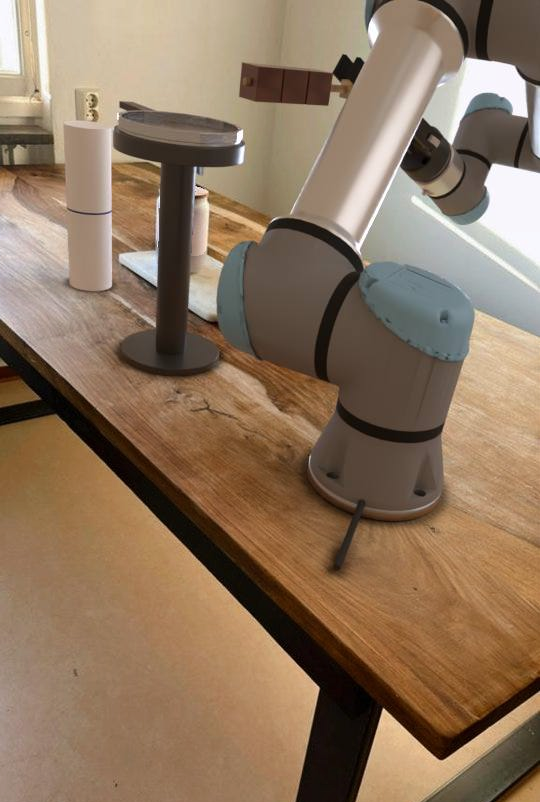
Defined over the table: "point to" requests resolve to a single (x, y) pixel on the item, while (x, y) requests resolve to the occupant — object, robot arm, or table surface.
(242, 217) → the table surface
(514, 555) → the table surface
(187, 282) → the plant stand
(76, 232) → the cylindrical container
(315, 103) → the beef skewer
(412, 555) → the table surface
